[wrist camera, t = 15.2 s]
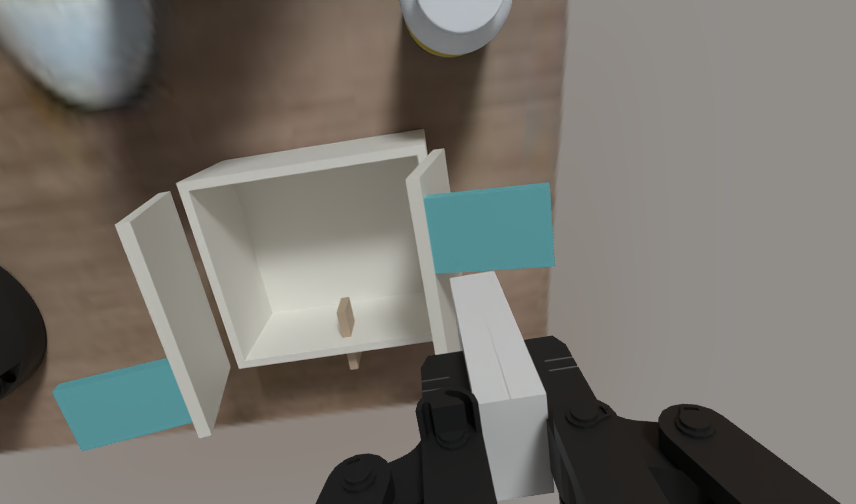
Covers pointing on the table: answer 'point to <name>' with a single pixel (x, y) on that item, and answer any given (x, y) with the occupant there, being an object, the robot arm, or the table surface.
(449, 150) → the table surface
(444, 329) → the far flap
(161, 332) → the flap
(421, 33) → the pill bottle
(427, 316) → the carton
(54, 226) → the table surface
